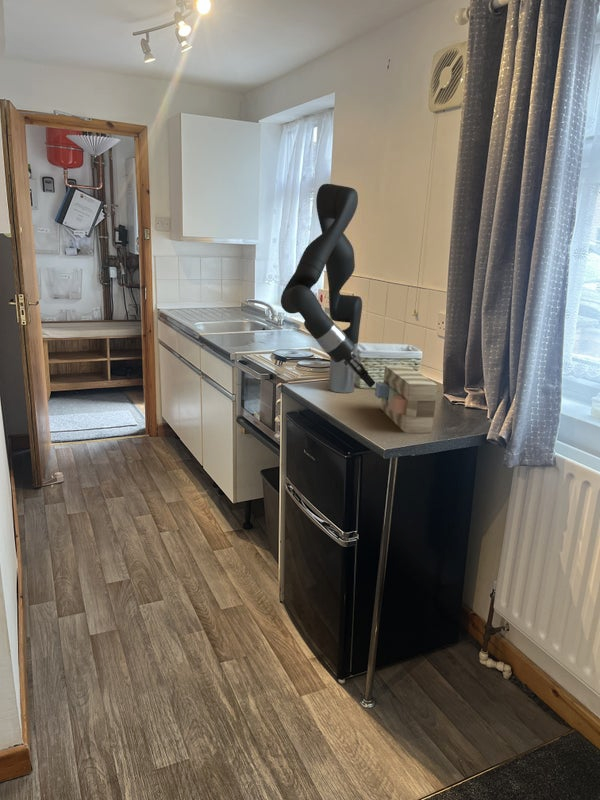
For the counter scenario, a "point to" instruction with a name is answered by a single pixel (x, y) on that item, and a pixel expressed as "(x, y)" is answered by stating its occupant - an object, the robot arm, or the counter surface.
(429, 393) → the block
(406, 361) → the storage basket
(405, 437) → the counter surface
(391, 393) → the green button
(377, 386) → the blue button
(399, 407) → the terracotta button
